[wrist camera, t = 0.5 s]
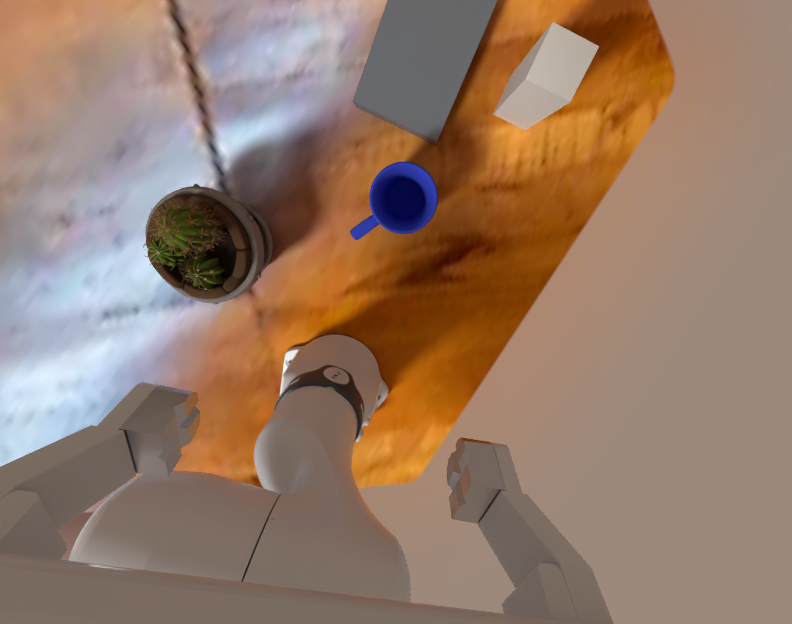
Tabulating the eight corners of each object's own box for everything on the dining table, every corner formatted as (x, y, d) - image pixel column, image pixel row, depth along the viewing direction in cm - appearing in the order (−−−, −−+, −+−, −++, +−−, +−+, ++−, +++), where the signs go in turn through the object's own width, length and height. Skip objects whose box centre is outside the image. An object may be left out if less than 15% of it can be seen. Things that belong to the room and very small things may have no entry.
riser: (435, 145, 48) (437, 141, 45) (356, 107, 47) (352, 101, 44) (498, -1, 43) (504, -16, 40) (410, -47, 42) (410, -65, 39)
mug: (345, 207, 51) (330, 209, 42) (412, 157, 49) (412, 146, 39) (377, 253, 53) (370, 264, 44) (443, 206, 51) (451, 207, 41)
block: (525, 130, 47) (570, 101, 34) (492, 114, 47) (525, 79, 34) (544, 91, 46) (599, 46, 32) (511, 75, 45) (552, 21, 32)
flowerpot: (260, 304, 57) (183, 355, 38) (176, 247, 54) (49, 272, 35) (306, 231, 53) (247, 247, 34) (218, 167, 50) (101, 146, 31)
